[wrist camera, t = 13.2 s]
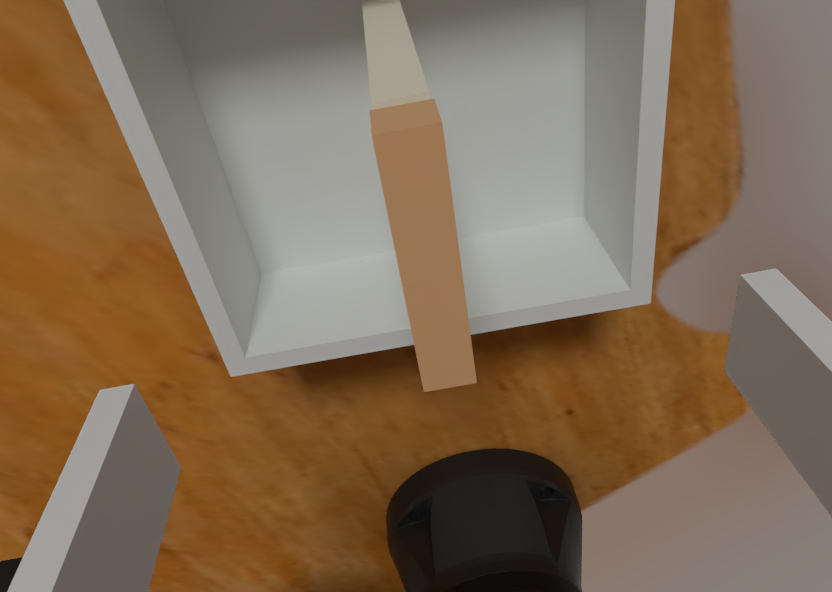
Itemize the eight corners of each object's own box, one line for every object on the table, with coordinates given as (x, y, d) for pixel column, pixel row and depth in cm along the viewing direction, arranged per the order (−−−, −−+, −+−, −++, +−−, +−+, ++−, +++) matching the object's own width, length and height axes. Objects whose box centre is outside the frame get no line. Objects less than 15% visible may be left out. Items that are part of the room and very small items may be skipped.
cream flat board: (423, 159, 32) (476, 382, 19) (392, 165, 32) (423, 392, 19) (396, -15, 27) (442, 122, 14) (359, -8, 27) (371, 135, 14)
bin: (596, 220, 36) (650, 303, 30) (251, 281, 37) (230, 376, 30) (603, -230, 25) (695, -255, 18) (96, -133, 25) (8, -123, 18)
